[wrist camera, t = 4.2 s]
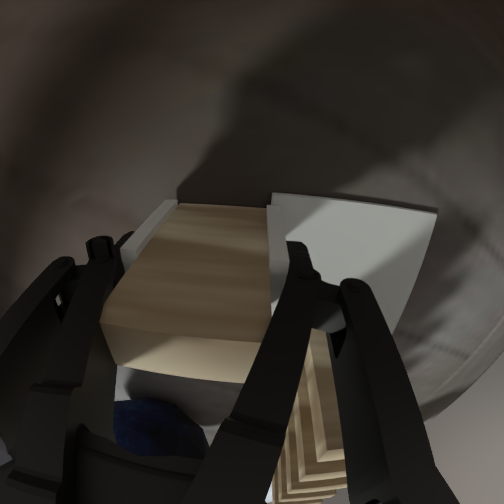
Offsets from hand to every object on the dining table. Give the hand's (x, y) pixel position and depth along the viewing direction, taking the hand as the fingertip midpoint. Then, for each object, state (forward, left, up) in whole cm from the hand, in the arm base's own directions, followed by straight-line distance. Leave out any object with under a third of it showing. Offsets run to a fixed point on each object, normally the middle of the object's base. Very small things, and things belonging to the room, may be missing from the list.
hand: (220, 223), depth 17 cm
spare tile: (0, 0, -1) cm, 1 cm away
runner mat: (+9, -16, -1) cm, 18 cm away
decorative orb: (-8, -25, -1) cm, 26 cm away
